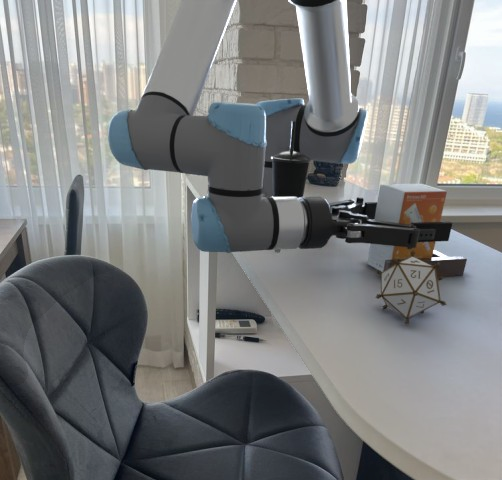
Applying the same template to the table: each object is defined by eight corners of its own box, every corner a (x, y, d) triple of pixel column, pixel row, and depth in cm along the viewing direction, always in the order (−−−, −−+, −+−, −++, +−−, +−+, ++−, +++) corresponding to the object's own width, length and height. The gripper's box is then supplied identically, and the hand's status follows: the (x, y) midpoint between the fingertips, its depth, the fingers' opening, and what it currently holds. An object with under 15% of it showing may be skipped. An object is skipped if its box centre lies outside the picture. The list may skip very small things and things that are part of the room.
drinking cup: (277, 221, 107) (285, 119, 98) (310, 227, 104) (321, 122, 95) (259, 228, 101) (265, 120, 92) (293, 235, 98) (303, 123, 89)
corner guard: (337, 247, 92) (339, 232, 91) (403, 244, 96) (406, 230, 95) (386, 280, 77) (389, 262, 76) (463, 275, 81) (467, 258, 80)
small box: (388, 276, 79) (404, 191, 73) (366, 264, 84) (378, 183, 78) (430, 272, 82) (448, 190, 76) (405, 260, 87) (420, 182, 81)
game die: (391, 334, 68) (397, 265, 70) (454, 333, 63) (459, 257, 65) (357, 318, 62) (365, 241, 64) (425, 314, 56) (431, 230, 58)
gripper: (268, 226, 86) (378, 223, 92) (331, 276, 65) (468, 268, 71) (271, 181, 83) (385, 181, 89) (338, 218, 62) (481, 214, 68)
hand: (422, 220), depth 80 cm, fingers open, 13 cm apart
